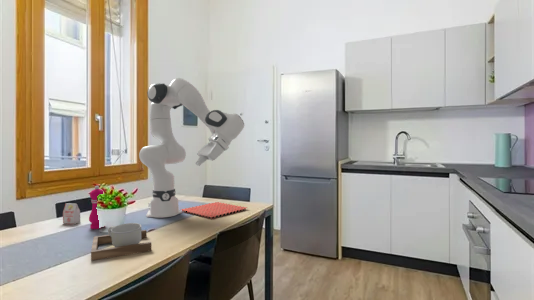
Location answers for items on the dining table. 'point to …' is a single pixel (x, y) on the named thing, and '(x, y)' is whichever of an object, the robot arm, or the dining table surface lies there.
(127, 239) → the teacup
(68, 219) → the small food carton
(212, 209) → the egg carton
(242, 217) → the dining table surface
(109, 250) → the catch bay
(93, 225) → the pepper mill
